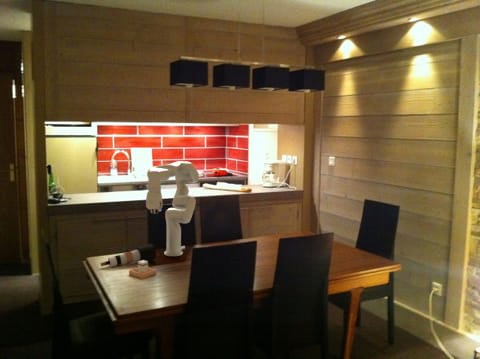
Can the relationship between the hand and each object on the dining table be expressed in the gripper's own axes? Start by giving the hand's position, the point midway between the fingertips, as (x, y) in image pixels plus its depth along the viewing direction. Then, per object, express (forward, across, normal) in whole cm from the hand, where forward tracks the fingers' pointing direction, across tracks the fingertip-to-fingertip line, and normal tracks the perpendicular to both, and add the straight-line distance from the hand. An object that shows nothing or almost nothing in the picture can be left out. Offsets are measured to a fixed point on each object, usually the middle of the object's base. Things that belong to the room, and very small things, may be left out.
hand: (154, 219), depth 277 cm
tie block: (+28, +7, -16) cm, 33 cm away
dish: (+29, +7, -16) cm, 34 cm away
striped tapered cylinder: (+30, -14, -8) cm, 34 cm away
